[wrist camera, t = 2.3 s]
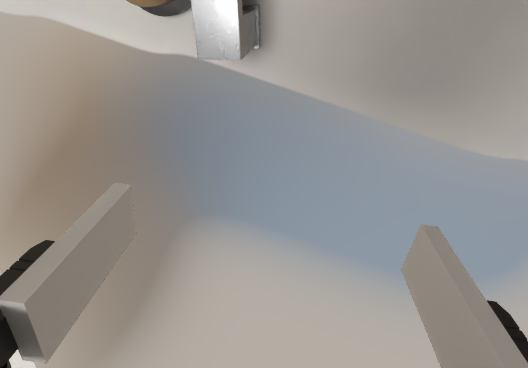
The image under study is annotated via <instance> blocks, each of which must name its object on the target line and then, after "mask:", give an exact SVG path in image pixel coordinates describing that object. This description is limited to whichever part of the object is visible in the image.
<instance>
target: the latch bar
mask: <svg viewBox="0 0 528 368" xmlns="http://www.w3.org/2000/svg"><path fill="white" fill-rule="evenodd" d="M127 1H128V2H130V3H132V4H134V5H137V6H140V7H151V6H157V5H163V4H168V3H171V2H173V1H174V0H127Z"/></svg>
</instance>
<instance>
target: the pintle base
mask: <svg viewBox="0 0 528 368" xmlns="http://www.w3.org/2000/svg"><path fill="white" fill-rule="evenodd" d="M139 7H140V6H139ZM190 7H191V0H174V1H173V2H171V3H168V4H163V5H157V6H151V7H141V8H142V9H144V10H145V11H147V12H149V13H151V14H154V15H158V16H172V15H176V14H179V13H182V12H184V11H186V10H187V9H188V8H190Z"/></svg>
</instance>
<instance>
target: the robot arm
mask: <svg viewBox="0 0 528 368" xmlns="http://www.w3.org/2000/svg"><path fill="white" fill-rule="evenodd" d="M136 233H137V232H136V223H135V214H134V205H133V197H132V187H131V185H126V184H119V183H114V184H113V185H112V186H111V187H110V188H109V189H108V190H107V191H106V192H105V193H104V194H103V195H102V196H101V197H100V198H99V199H98V200H97V201H96V202H95V203H94V204H93V205H92V206H91V207H90V208H89V209H88V210H87V211H86V212H85V213H84V214H83V215H82V216H81V217H80V218H79V219H78V220H77V221H76V222H75V223H74V224H73V225H72V226H71V227H70V228H69V229H68V230H67V231H66V232H64V233H63V234H62V236H60V238H58V240H56V241H49V240H45V241H43V242H41V243H40V244H38V245H36V246H34V247H32V248H31V249H30V250H28V251H27V252H26V253H25V254H24V255H23V256H22V257H21V258H20V259H19V261H16V262H15V263H14V264H13V265H12V266H11V267H10V269H9V270H6V272H4V273H3V274H2V275H1V276H0V368H11V364H10V362H9V359H10V358H11V356H12V355H13V354H14V353H15V351H16V350H17V349H18V350H19V353H20V355H21V357H22V360H26V361H33V362H40V363H47V362H48V360H49V359H50V357H51V356H52V355H53V353H54V352H55V350H56V349H57V348H58V346H59V345H60V343H61V342H62V340H63V339H64V337H65V336H66V335H67V333H68V332H69V330H70V329H71V327H72V326H73V324H74V323H75V322H76V320H77V319H78V317H79V316H80V314H81V313H82V311H83V310H84V309H85V307H86V306H87V304H88V303H89V301H90V300H91V298H92V297H93V296H94V294H95V293H96V291H97V290H98V288H99V287H100V285H101V284H102V282H103V281H104V280H105V278H106V277H107V275H108V274H109V272H110V271H111V270H112V268H113V267H114V265H115V264H116V262H117V261H118V259H119V258H120V257H121V255H122V254H123V252H124V251H125V249H126V248H127V246H128V245H129V243H130V242H131V241H132V239H133V238H134V236H135V235H136ZM401 271H402V273H403V276H404V278H405V281H406V283H407V286H408V288H409V290H410V293H411V295H412V298H413V300H414V302H415V305H416V307H417V310H418V312H419V315H420V317H421V320H422V322H423V324H424V327H425V329H426V332H427V334H428V337H429V339H430V341H431V344H432V346H433V349H434V351H435V353H436V356H437V358H438V361H439V363H440V366H441V368H528V341H527V338H526V337H525V335H524V334H523V332H522V331H520V330H519V327H518V325H517V324H516V323H515V321H514V320H513V318H512V317H511V315H510V314H509V313H508V312H506V310H504V309H503V308H502V307H501V306H500V305H499V304H498V303H497V302H494V301H487V300H486V299H485V298H484V296H483V295H482V293H481V292H480V290H479V289H478V287H477V285H476V284H475V282H474V281H473V279H472V278H471V276H470V275H469V273H468V272H467V270H466V269H465V267H464V266H463V264H462V263H461V261H460V260H459V258H458V257H457V255H456V254H455V252H454V251H453V249H452V248H451V246H450V245H449V243H448V242H447V240H446V238H445V237H444V235H443V234H442V232H441V231H440V229H439V228H438V227H436V226H435V227H434V226H428V225H420V227H419V230H418V232H417V234H416V237H415V239H414V241H413V243H412V246H411V248H410V250H409V253H408V255H407V258H406V260H405V262H404V264H403V267H402V269H401Z"/></svg>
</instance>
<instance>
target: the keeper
mask: <svg viewBox="0 0 528 368" xmlns="http://www.w3.org/2000/svg"><path fill="white" fill-rule="evenodd" d="M191 6H192V14H193V22H194V30H195V39H196V47H197V55H198V59H207V60H241V59H242V58H243V57H244V56H245V55H246V54H248V53H249V52H250V51H251V50H252V49H259V48H260V5H242V0H191Z"/></svg>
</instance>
